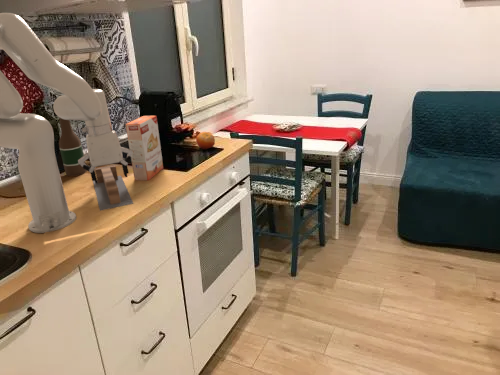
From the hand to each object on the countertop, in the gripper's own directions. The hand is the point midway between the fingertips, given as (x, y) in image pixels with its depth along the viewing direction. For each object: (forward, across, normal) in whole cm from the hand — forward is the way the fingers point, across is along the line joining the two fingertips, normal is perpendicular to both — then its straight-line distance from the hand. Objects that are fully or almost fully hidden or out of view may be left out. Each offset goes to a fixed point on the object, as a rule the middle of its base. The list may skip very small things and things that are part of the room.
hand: (111, 178), depth 138 cm
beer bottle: (+5, -11, +28) cm, 31 cm away
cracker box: (+5, +14, +10) cm, 18 cm away
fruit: (+7, +43, +32) cm, 54 cm away
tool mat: (+4, -1, -1) cm, 5 cm away
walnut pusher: (+4, -1, -1) cm, 4 cm away
